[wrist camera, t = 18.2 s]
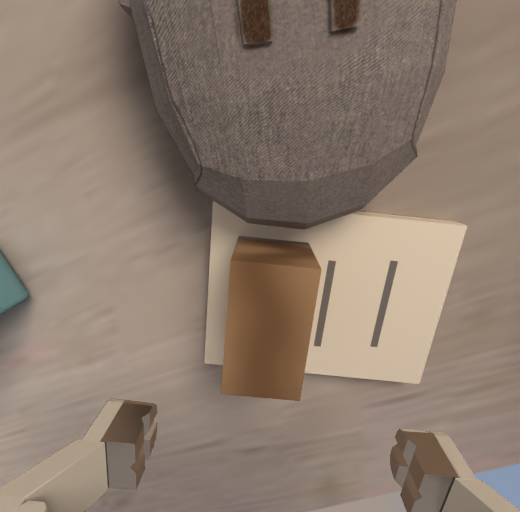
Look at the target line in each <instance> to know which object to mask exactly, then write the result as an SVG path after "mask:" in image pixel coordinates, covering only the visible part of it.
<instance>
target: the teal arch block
mask: <svg viewBox="0 0 520 512" xmlns="http://www.w3.org/2000/svg"><path fill="white" fill-rule="evenodd" d="M28 296H29V293H28V291H27V290H26V288H25V287H24V285H23V284H22V283H21V281H20V280H19V278H18V277H17V275H16V274H15V272H14V271H13V269H12V268H11V266H10V265H9V263H8V262H7V260H6V259H5V257H4V256H3V255H2V253H1V252H0V314H1V313H3V312H4V311H6V310H8V309H10V308H11V307H13V306H15V305H16V304H18V303H20V302H21V301H23V300H25V299H26V298H27V297H28Z"/></svg>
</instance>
